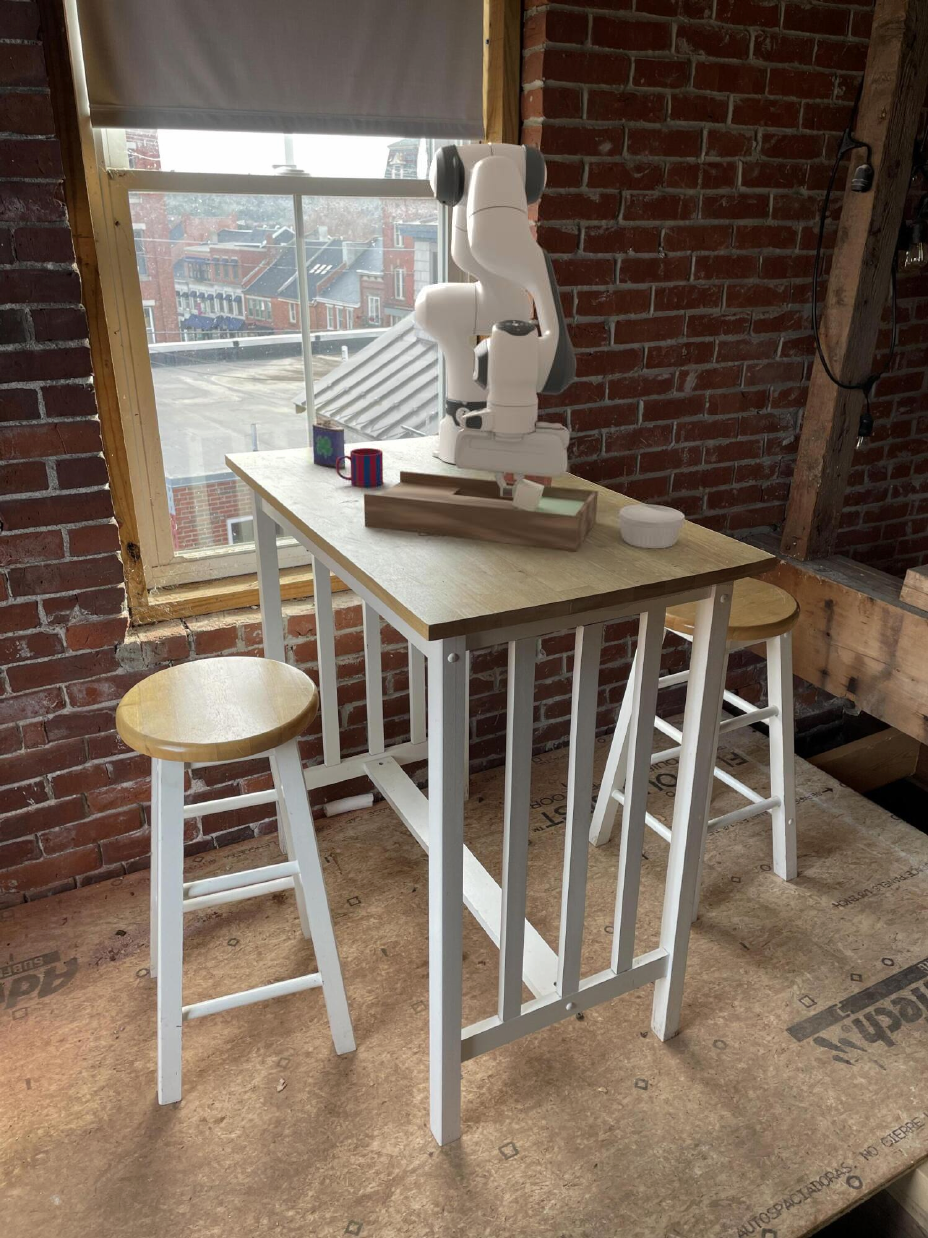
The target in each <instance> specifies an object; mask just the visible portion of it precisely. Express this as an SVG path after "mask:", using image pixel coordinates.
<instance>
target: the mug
mask: <svg viewBox="0 0 928 1238" xmlns="http://www.w3.org/2000/svg"><path fill="white" fill-rule="evenodd" d="M349 452H350V453H349V455H345V456H340V457H339V458H338V459H337V461H336V468H335V471H336V474H337V475H338V476H339V477H340V478H342V479H343V480H346V481H349V482H350V483H351V485H352V486H354V487H357V488H376V487H380V486H382V485H383V483H384V472H383V471H384V465H383V463H384V462H383V460H384V457H383V454H384V453H383V451H382V450H381V449H378V448H372V447H371V448H369V447H363V448H361V447H360V448H355V449H352V450H350V451H349ZM342 458H345V459H347V460H349V461H350V477H347V476H345V475H343V474H341V472H340V469H339V467H338V466H339V462H340V460H341V459H342Z"/></svg>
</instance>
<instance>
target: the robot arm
mask: <svg viewBox="0 0 928 1238" xmlns="http://www.w3.org/2000/svg"><path fill="white" fill-rule="evenodd" d="M547 174H548V171H547V165H546V161H545V156H544V154H543V153H542V151H541V150H540V149H539V148H538V147H536V146H533V145H529V144H522V145H517V144H510V143H505V142H504V143H501V142H488V143H475V144H473V143H472V144H471V143H470V144H463V145H457V146H456V144H449V145H444V146H441V147H440V148H438V149H437V150H436V152H435V153H434V157H433V159H432V162H431V164H430V170H429V182H430V186H431V190H432V192H433V195H434V199H436V200H437V202H439V204H441V205H443V206H448V207H452V208H453V210H452V224H451V226H452V227H451V248H450V253H451V254H450V255H451V257H452V260H453V262H454V263H455V265H456V266H457V267H459V269H460V270H462V271H463V272H464V273H466V274H469V275H470V276H472V277H474V278H475V279H476V280H477V282H440V283H435V284H429V285H425V286H424V287H423V288H422V289H421V290H420V292H419V293H418V295H417V298H416V300H415V303H414V304H415V306H414V314H415V318H416V320H417V323H418V324H419V327H421V328H422V330H424V331H425V332H426V333H427V334H429V336H430V337H432V338H433V340H434V341H435V342H436V344H437V345H438V346H439V348H440V350H441V352H442V355H443V357H444V360H445V366H446V377H447V397H445V404H444V405H445V406H444V407H445V414H446V415H445V416H444V418H442V420H441V421H440V422H439V428H438V429H439V431H438V432H439V433H438V443H437V444H438V446H437V447H438V448H437V449H435V450H433V451H432V457H435V458H439V460H441V461H443V462H445V463H449V464H454V465H455V466H456V467H457V468H458V469H465V470H466V469H467V470H475V471H483V472H484V471H486V472H494V480H496V481H497V483H498V485H499V487H500V496H502V497H511V498H514V495H515V492H516V488H517V485H518V483H520V482H521V481H522V480H523V479H524V475H534V476H544V477H552V478H554V479H558V478H561V477H562V476H564V475H565V473H566V472H567V470H568V452H567V449H568V447H569V444H570V431H569V430H568V428H567V427H565V426H563V425H562V423H559V422H553V423H552V422H547V421H538V407H539V398H538V395H537V393H539V394H545V395H555V396H557V395H559V394H561V393H562V392H564V391H565V390H566V389H568V387H570V385H571V384H572V383H573V382H574V380H575V377H576V373H577V370H576V369H577V360H576V354H575V350H574V346H573V344H572V341H571V338H570V334H569V332H568V327H567V324H566V319H565V315H564V311H563V306H562V300H561V296H560V292H559V288H558V282H557V279H556V275H555V271H554V267H553V263H552V261H551V258H550V256H549V253H548V251H547V250H546V249H544V248H543V247H541V246H540V245H539V244H538V243H537V242H536V239H535V238H534V235H533V234H532V231H531V229H530V223H529V212H528V206H530V205H533V204H534V205H535V203H537V202H538V201H540V199H541V198H542V197H543V193H544V190H545V187H546V183H547V179H548V178H547V176H548V175H547ZM529 294H531V296H532V299H533V301H534V306H535V310H536V316H537V319H538V324H539V328H540V332H541V333H540V334H541V336H539V332H538V328H537V327H536V326H535V325H534V324H532V323H531V322H530V320H531V317H532V313H533V312H532V311H533V305H532V299H531V297H530V295H529ZM473 336H490V337H487V338H486V337H485V338H484V339H483V340H482V341H480V342H479V343H478V344H477V345H476V347H473V345H472V344H471V342H470V338H471V337H473ZM505 473H514V479H515V480H516V479H517V481H516V482H515V484H514V485H513V486H508V485H506V483H505V481H504V478H503V476H505Z"/></svg>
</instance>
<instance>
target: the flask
mask: <svg viewBox="0 0 928 1238" xmlns="http://www.w3.org/2000/svg"><path fill="white" fill-rule="evenodd" d="M321 419H322V421H320V422H317V421H316V423H315V422H314V423H313V424H312V444H313V446H312V448H313V451H312V452H313V453H312V454H313V464H314V465H318V466H321V467H326V468H332V469H336V461H337V459H338V458H339V457H340V456H346V453H345V428H344V427H340V426H339V427H338V426H334V425H331V421H332V419H331V418H330V417H329V418H327V417H324V418H321ZM338 467H339V470H341V469H342V470H343V469H344V468H345V469H346V458H342V459H341V460H340V462H339V466H338Z"/></svg>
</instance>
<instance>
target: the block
mask: <svg viewBox="0 0 928 1238" xmlns="http://www.w3.org/2000/svg"><path fill="white" fill-rule="evenodd" d="M543 489H544V486H543V485H540V484H537V483H534V482H531V481H528V480H525V479H523V480H522V481H521V482H520V483H518V485H517V488H516V492H515V495H514V499H513V503H512V505H513V506H516V507H519V508H522V509H524V510H527V511H535V510H536V509H537V507H538V506H539V503H540V500H541V496H542V493H543Z"/></svg>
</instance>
